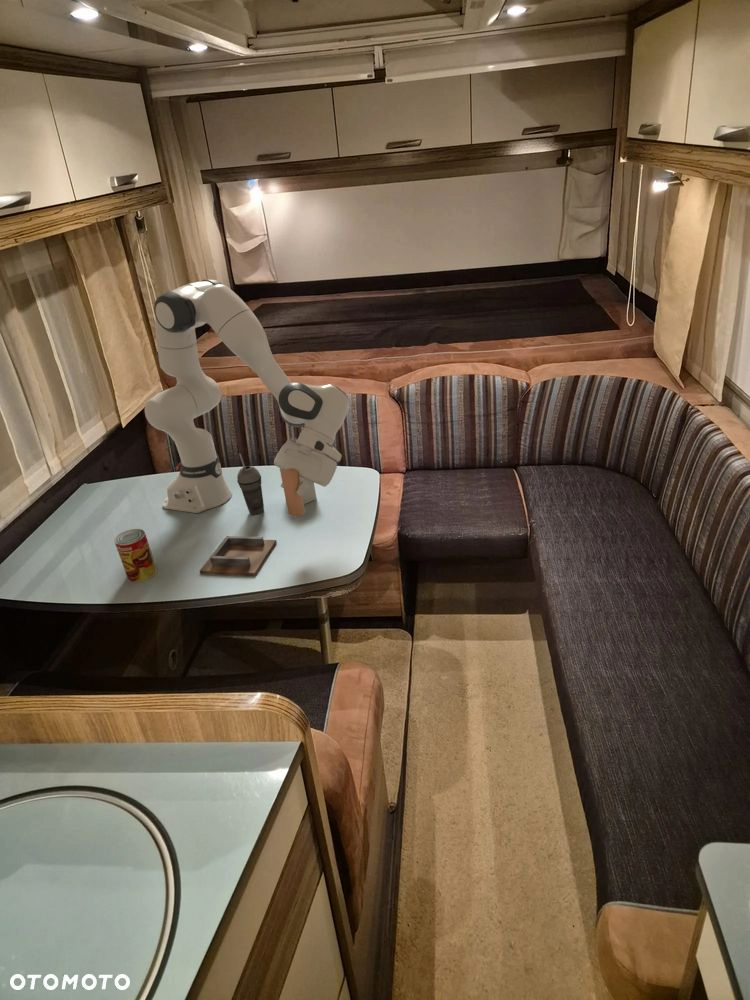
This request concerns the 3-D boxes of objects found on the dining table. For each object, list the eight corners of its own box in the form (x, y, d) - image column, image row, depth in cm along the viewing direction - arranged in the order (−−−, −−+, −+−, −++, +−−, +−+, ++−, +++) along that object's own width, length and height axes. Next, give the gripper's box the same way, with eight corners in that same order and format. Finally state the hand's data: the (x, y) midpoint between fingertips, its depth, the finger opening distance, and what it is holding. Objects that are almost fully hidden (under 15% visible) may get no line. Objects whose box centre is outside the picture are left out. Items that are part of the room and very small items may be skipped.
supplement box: (298, 508, 197) (290, 471, 191) (285, 500, 203) (278, 465, 197) (317, 499, 201) (311, 463, 195) (304, 492, 207) (298, 456, 201)
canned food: (122, 576, 175) (108, 538, 169) (148, 562, 179) (135, 525, 174) (136, 585, 170) (123, 547, 164) (162, 571, 174) (150, 534, 169)
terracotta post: (286, 516, 170) (278, 476, 164) (291, 507, 174) (284, 468, 168) (302, 516, 169) (294, 476, 163) (307, 508, 173) (300, 468, 167)
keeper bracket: (200, 573, 171) (197, 563, 169) (225, 541, 185) (222, 531, 183) (255, 576, 167) (252, 565, 165) (276, 542, 181) (274, 532, 179)
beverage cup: (263, 518, 194) (250, 458, 185) (241, 518, 196) (227, 459, 186) (271, 506, 200) (259, 448, 191) (250, 506, 202) (236, 448, 193)
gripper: (282, 431, 173) (259, 476, 172) (331, 448, 160) (306, 498, 159) (297, 440, 178) (275, 485, 177) (346, 458, 165) (323, 506, 164)
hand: (290, 491), depth 168 cm, fingers closed on terracotta post, 4 cm apart
